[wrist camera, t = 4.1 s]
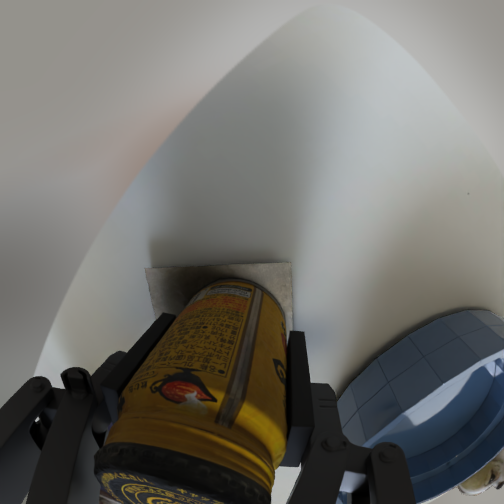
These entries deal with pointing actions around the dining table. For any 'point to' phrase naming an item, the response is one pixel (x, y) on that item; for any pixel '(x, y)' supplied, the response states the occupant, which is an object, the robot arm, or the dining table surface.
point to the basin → (434, 401)
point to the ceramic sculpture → (485, 477)
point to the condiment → (206, 391)
